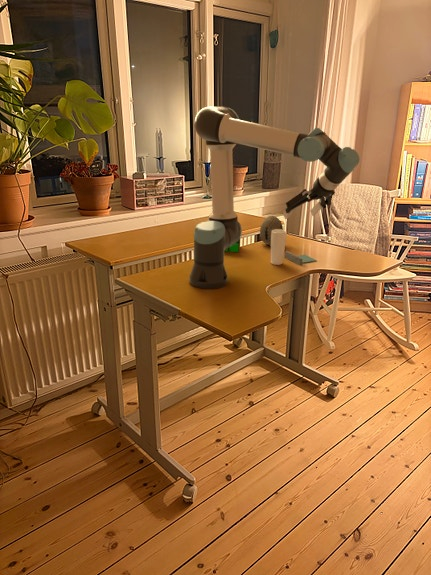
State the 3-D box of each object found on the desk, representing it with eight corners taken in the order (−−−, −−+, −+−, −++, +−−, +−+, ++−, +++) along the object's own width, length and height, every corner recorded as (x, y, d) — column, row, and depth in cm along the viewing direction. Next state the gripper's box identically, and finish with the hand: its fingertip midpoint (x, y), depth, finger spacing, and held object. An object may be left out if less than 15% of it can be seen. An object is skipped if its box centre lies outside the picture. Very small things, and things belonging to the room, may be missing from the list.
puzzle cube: (240, 246, 219) (240, 227, 215) (239, 252, 210) (240, 232, 206) (220, 245, 220) (220, 226, 216) (218, 251, 211) (218, 231, 207)
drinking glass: (276, 266, 192) (278, 233, 187) (265, 262, 197) (268, 230, 192) (287, 264, 196) (290, 231, 190) (276, 260, 201) (279, 228, 195)
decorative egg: (276, 249, 216) (278, 220, 210) (255, 245, 221) (256, 216, 215) (285, 244, 225) (288, 215, 219) (265, 240, 230) (267, 212, 225)
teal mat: (300, 263, 197) (300, 262, 197) (289, 257, 204) (289, 256, 204) (316, 261, 201) (316, 260, 201) (304, 255, 208) (305, 254, 208)
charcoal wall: (299, 265, 195) (300, 258, 194) (284, 257, 205) (285, 251, 204) (301, 264, 196) (302, 258, 194) (286, 256, 206) (287, 250, 204)
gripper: (302, 193, 152) (275, 225, 171) (357, 189, 163) (326, 220, 181) (295, 175, 155) (269, 209, 173) (349, 173, 165) (319, 204, 183)
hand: (298, 214), depth 177 cm, fingers open, 13 cm apart
